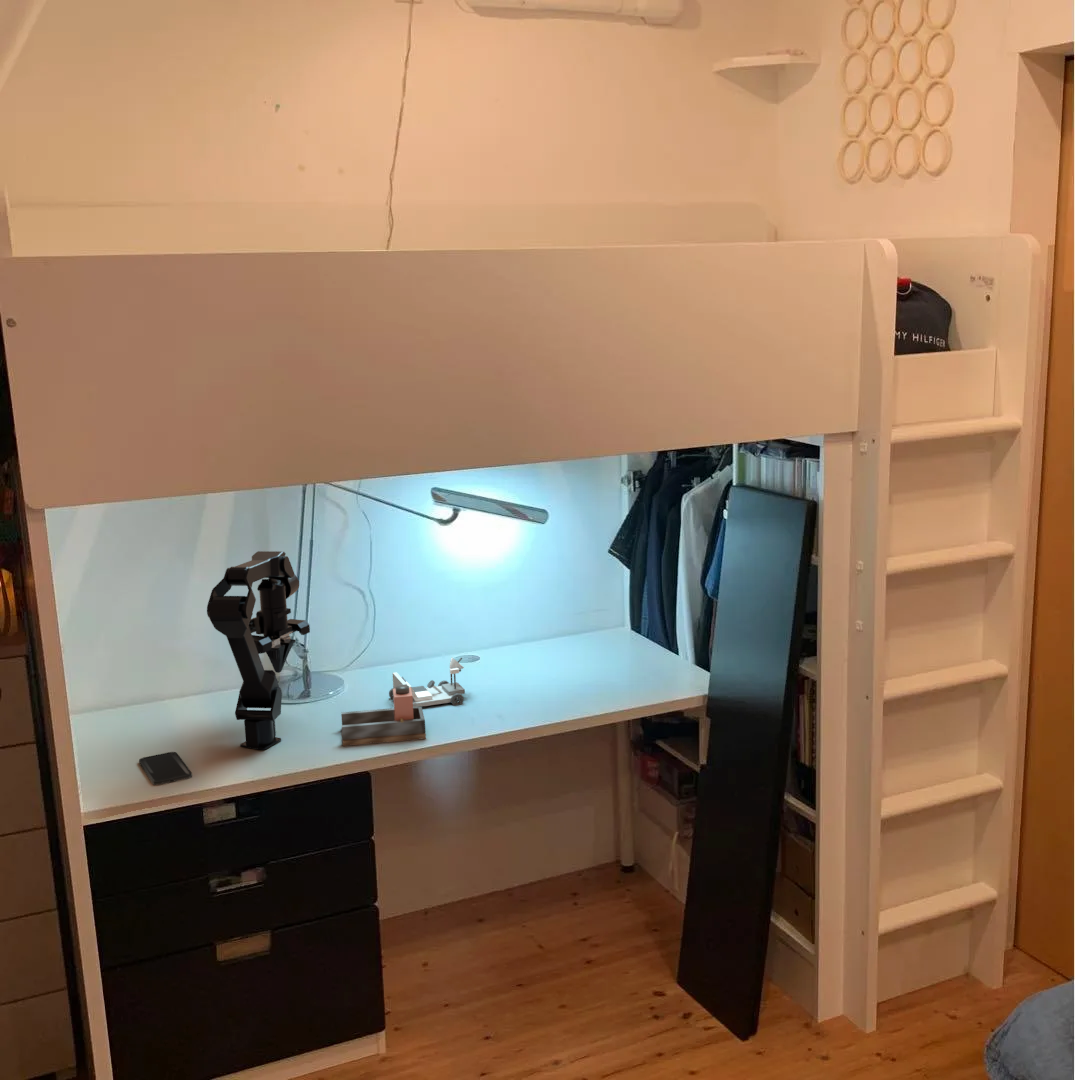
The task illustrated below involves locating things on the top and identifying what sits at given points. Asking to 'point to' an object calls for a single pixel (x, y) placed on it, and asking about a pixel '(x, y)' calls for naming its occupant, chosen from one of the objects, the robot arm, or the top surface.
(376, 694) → the top surface
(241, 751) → the top surface
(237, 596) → the robot arm
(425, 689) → the toy car
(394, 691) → the slider
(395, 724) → the track
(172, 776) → the phone
